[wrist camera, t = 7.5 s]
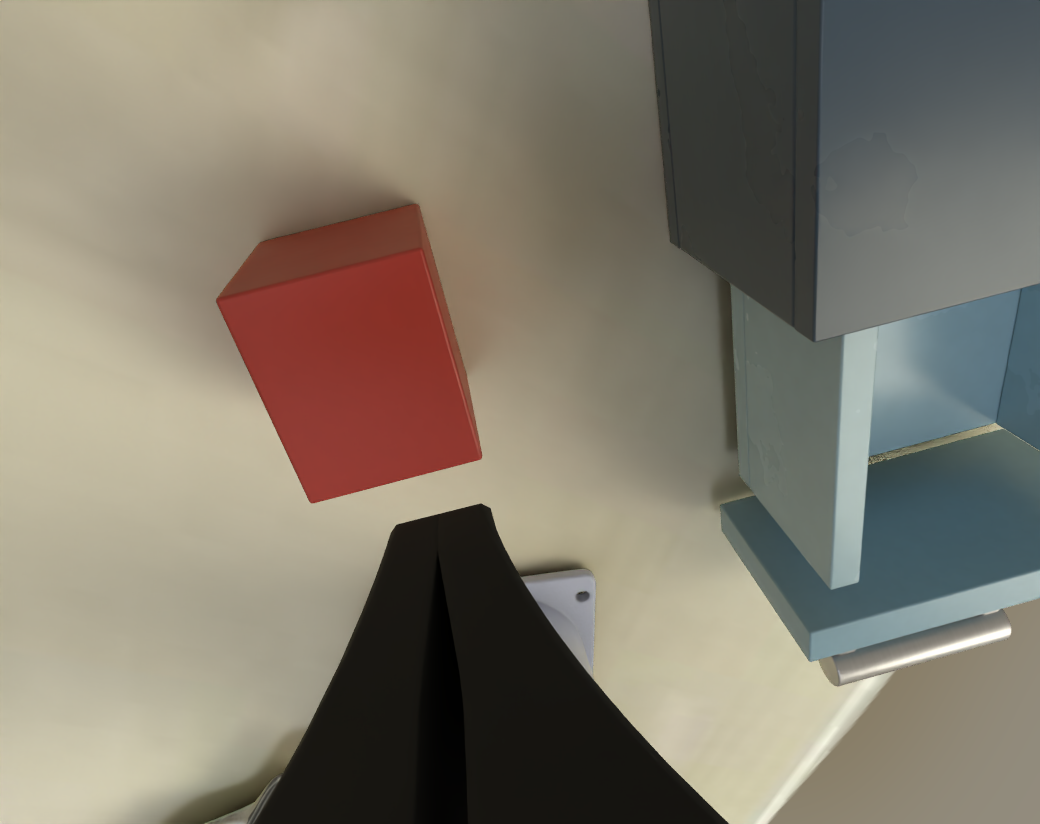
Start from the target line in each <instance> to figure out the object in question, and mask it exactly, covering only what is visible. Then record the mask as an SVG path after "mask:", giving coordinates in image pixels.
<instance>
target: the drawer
mask: <svg viewBox="0 0 1040 824" xmlns="http://www.w3.org/2000/svg"><path fill="white" fill-rule="evenodd" d="M731 307H732V329H733V351H734V374H735V396H736V418H737V441H738V463H739V476H740V477H741V478H742V480H743V481H744V482H745V483H746V485H747V486H748V487H749V488H750V489H751V491H752V492H753V493H754V496H751V497H747V498H743V499H740V500H736V501H732V502H728V503H725V504H721V505H720V511H721V526H722V532H723V533H724V535H725V536H726V538H727V539H728V541H729V542H730V544H731V545H732V547H733V548H734V550H735V551H736V553H737V554H738V556H739V557H740V559H741V560H742V562H743V563H744V565H745V566H746V568H747V569H748V571H749V572H750V574H751V575H752V577H753V578H754V580H755V581H756V583H757V584H758V586H759V587H760V589H761V590H762V592H763V593H764V595H765V596H766V598H767V599H768V601H769V602H770V604H771V605H772V607H773V608H774V610H775V611H776V613H777V614H778V616H779V617H780V619H781V620H782V622H783V623H784V625H785V626H786V627H787V629H788V630H789V632H790V633H791V635H792V636H793V638H794V639H795V641H796V642H797V644H798V645H799V647H800V648H801V650H802V651H803V653H804V654H805V656H806V657H807V659H808V660H809V661H810V662H812V661H816V660H819V663H820V666H821V668H822V670H823V672H824V674H825V675H826V677H827V678H828V680H829V681H830V682H831V683H832V684H833V685H835V686H841V685H845V684H848V683H852V682H855V681H859V680H863V679H866V678H870V677H873V676H877V675H880V674H884V673H888V672H891V671H895V670H898V669H901V668H905V667H908V666H913V665H916V664H920V663H923V662H927V661H930V660H934V659H938V658H941V657H944V656H948V655H952V654H955V653H959V652H963V651H966V650H970V649H973V648H977V647H980V646H984V645H987V644H991V643H995V642H998V641H1002V640H1005V639H1008V638H1009V636H1010V635H1011V624H1010V621H1009V619H1008V617H1007V615H1006V613H1005V612H1004V610H1003V608H1006V607H1010V606H1013V605H1017V604H1021V603H1024V602H1028V601H1031V600H1035V599H1038V598H1040V284H1037V285H1034V286H1030V287H1026V288H1022V289H1018V290H1014V291H1011V292H1007V293H1003V294H999V295H995V296H991V297H988V298H984V299H980V300H976V301H972V302H968V303H965V304H961V305H957V306H953V307H949V308H945V309H942V310H938V311H934V312H930V313H926V314H922V315H919V316H915V317H911V318H907V319H903V320H899V321H896V322H892V323H888V324H884V325H880V326H876V327H873V328H869V329H865V330H861V331H857V332H853V333H850V334H846V335H842V336H838V337H834V338H830V339H827V340H823V341H819V342H812V341H810V340H809V339H807V338H806V337H804V336H803V335H802V334H800V333H799V332H797V331H796V330H795V327H791V326H790V325H789V324H787V323H786V322H784V321H783V320H782V319H780V318H779V317H777V316H776V315H774V314H773V313H772V312H770V311H769V310H767V309H766V308H764V307H763V306H762V305H760V304H759V303H757V302H756V301H754V300H753V299H752V298H750V297H749V296H747V295H746V294H744V293H743V292H742V291H740V290H739V289H737V288H736V287H735V286H733V285H732V284H731ZM993 423H997V424H998V425H999V426H1001V427H1003V428H1004V429H1000V430H997V431H993V432H989V433H985V434H982V435H978V436H974V437H971V438H967V439H963V440H959V441H956V442H952V443H948V444H944V445H941V446H937V447H933V448H930V449H926V450H922V451H918V452H915V453H911V454H907V455H904V456H900V457H896V458H892V459H889V460H885V461H881V462H877V463H874V464H870V465H868V459H869V457H870V456H874V455H877V454H881V453H885V452H889V451H892V450H896V449H900V448H904V447H907V446H911V445H915V444H918V443H922V442H926V441H930V440H933V439H937V438H941V437H945V436H948V435H952V434H956V433H960V432H963V431H967V430H971V429H974V428H978V427H982V426H986V425H989V424H993ZM1005 429H1006V430H1007V431H1006V430H1005ZM1008 431H1009V432H1008ZM1010 432H1011V433H1012V434H1011V433H1010ZM1013 434H1014V435H1015V436H1014V435H1013ZM1016 436H1017V437H1016ZM1018 437H1019V438H1020V439H1019V438H1018ZM1021 439H1022V440H1023V441H1022V440H1021ZM1024 441H1025V442H1024ZM1026 442H1027V443H1028V444H1027V443H1026ZM1029 444H1030V445H1031V446H1030V445H1029ZM1032 446H1033V447H1032ZM1034 447H1035V448H1036V449H1035V448H1034ZM1037 449H1038V450H1039V451H1038V450H1037Z"/></svg>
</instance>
